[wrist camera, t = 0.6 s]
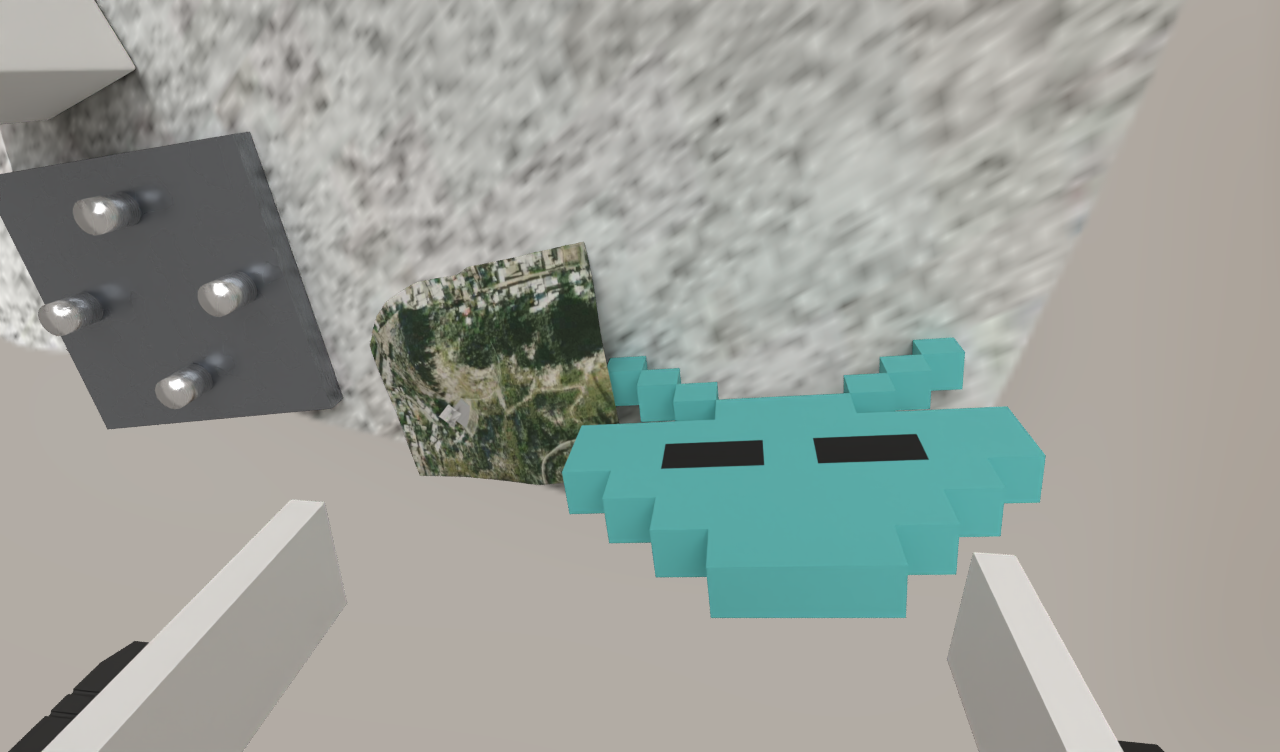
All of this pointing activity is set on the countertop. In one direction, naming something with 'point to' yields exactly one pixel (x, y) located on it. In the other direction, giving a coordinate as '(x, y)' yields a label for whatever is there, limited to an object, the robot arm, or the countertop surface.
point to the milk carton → (54, 57)
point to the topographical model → (497, 366)
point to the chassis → (171, 283)
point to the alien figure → (804, 484)
